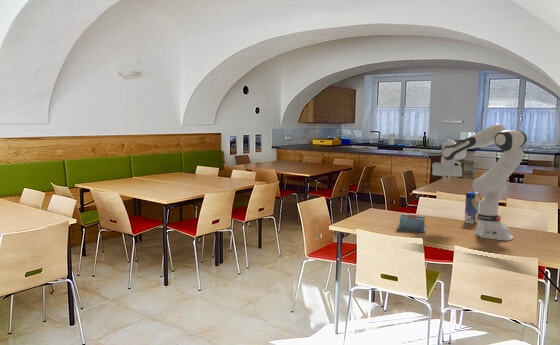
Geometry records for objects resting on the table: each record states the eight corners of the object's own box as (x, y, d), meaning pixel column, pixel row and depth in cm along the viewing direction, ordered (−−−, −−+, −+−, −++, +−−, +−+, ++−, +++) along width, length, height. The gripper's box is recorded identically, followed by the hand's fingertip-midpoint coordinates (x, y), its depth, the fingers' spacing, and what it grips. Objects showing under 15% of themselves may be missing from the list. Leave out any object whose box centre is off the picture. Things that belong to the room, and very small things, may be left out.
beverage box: (477, 221, 325) (479, 192, 322) (474, 223, 316) (476, 194, 314) (467, 219, 329) (469, 191, 326) (464, 222, 320) (466, 193, 318)
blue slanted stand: (425, 226, 305) (426, 214, 304) (425, 233, 286) (425, 220, 285) (399, 224, 311) (400, 212, 310) (397, 230, 292) (397, 218, 291)
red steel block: (416, 226, 298) (417, 213, 297) (416, 228, 294) (417, 215, 293) (407, 225, 300) (408, 213, 299) (407, 227, 296) (408, 214, 295)
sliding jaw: (424, 226, 299) (424, 216, 298) (424, 227, 296) (424, 217, 296) (400, 224, 304) (401, 214, 303) (400, 224, 302) (400, 215, 301)
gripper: (432, 162, 308) (431, 181, 310) (462, 163, 301) (461, 183, 303) (432, 162, 314) (431, 180, 316) (462, 163, 307) (461, 182, 309)
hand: (446, 182), depth 309 cm, fingers closed
